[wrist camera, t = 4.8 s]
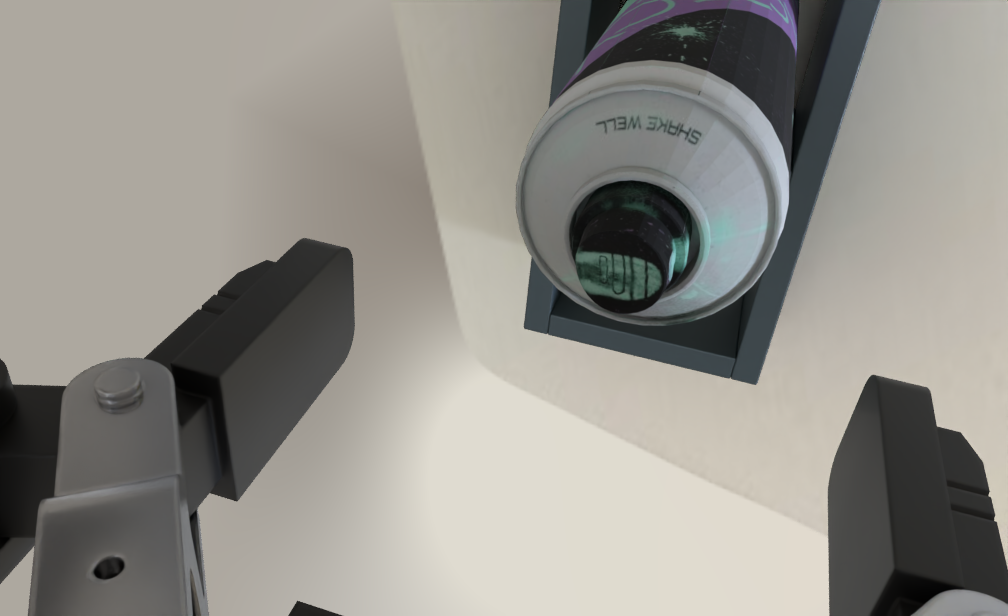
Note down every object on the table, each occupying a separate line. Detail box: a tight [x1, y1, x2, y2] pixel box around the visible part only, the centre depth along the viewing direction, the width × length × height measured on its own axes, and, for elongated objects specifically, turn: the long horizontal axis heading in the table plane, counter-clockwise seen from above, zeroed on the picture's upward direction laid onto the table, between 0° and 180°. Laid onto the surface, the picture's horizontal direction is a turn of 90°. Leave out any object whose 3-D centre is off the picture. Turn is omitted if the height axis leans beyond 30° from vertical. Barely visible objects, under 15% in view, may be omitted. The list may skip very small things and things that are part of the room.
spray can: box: [516, 0, 799, 326], centre depth 23 cm, size 6×6×20 cm
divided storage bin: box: [524, 0, 881, 385], centre depth 31 cm, size 9×16×6 cm, turn 175°
